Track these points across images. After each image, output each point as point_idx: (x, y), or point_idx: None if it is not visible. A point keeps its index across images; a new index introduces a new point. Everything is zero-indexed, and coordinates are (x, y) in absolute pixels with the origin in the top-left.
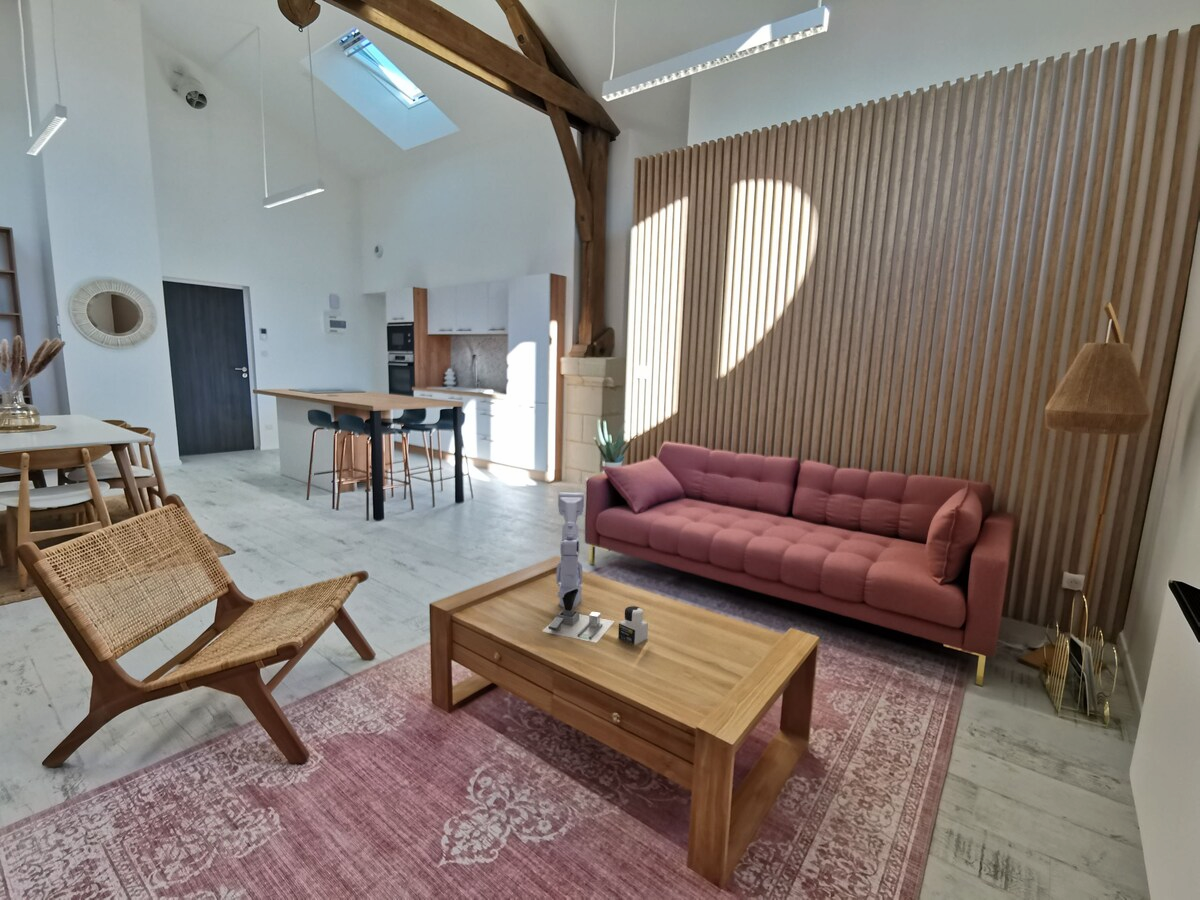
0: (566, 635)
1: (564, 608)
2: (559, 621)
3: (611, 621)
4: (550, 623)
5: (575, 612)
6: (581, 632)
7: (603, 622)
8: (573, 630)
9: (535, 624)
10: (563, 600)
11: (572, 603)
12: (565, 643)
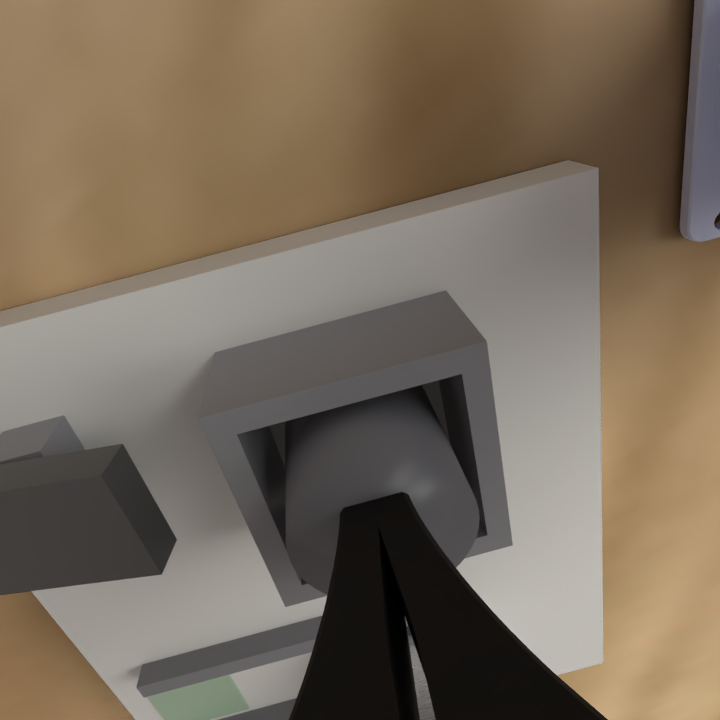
0: (64, 605)
1: (375, 472)
2: (59, 569)
3: (583, 654)
4: (130, 297)
5: (480, 501)
6: (201, 677)
7: (532, 632)
8: (210, 580)
9: (31, 6)
10: (304, 698)
11: (417, 708)
12: (23, 598)
